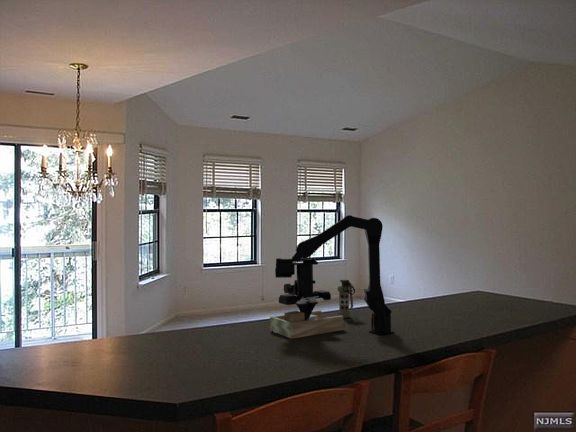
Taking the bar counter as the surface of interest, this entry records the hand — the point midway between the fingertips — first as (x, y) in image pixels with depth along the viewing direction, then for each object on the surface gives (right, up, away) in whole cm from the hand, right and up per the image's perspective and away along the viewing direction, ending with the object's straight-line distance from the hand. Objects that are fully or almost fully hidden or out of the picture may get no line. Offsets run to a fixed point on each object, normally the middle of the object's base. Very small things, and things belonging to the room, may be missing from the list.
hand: (305, 322), depth 178 cm
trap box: (0, -4, +3) cm, 5 cm away
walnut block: (-4, -1, -3) cm, 5 cm away
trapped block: (+1, -4, +8) cm, 9 cm away
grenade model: (+18, -4, +26) cm, 32 cm away
